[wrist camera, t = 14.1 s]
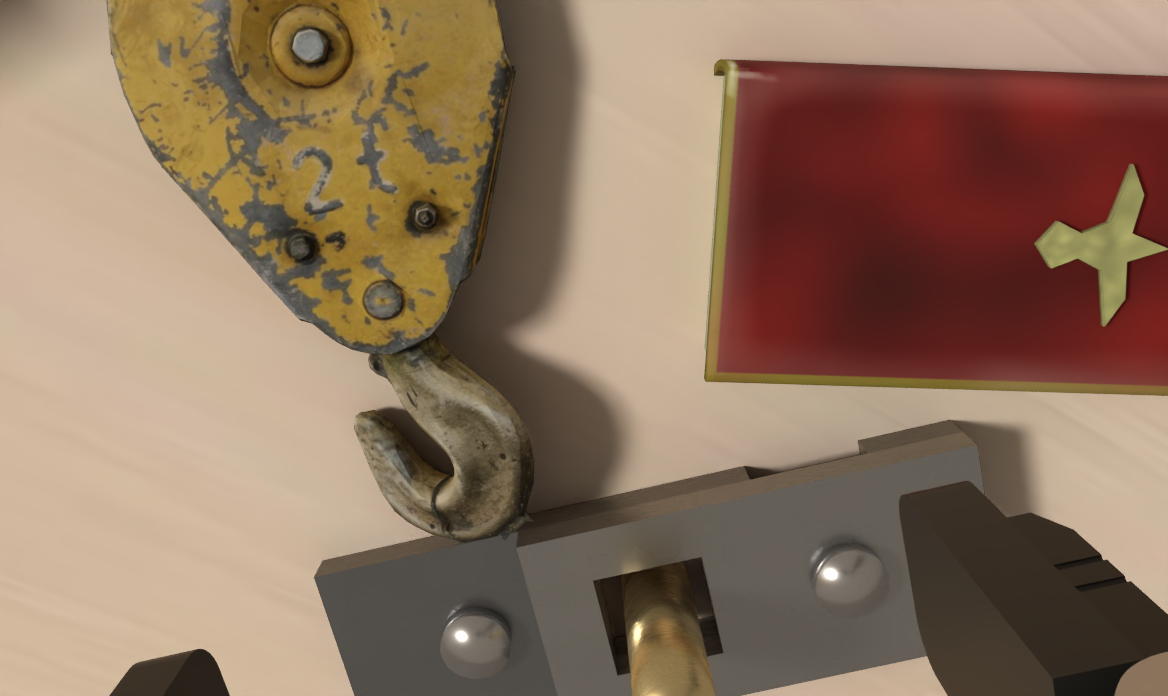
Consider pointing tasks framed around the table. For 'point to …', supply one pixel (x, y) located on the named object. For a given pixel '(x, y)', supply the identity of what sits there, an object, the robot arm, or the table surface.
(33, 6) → the table surface
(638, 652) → the brass pin
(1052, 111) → the hardcover book
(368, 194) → the pulley block
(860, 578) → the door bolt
